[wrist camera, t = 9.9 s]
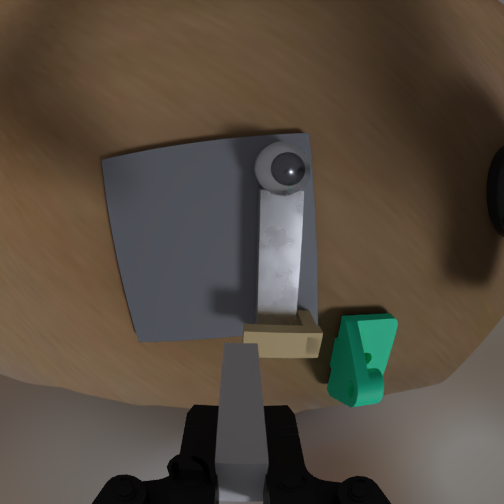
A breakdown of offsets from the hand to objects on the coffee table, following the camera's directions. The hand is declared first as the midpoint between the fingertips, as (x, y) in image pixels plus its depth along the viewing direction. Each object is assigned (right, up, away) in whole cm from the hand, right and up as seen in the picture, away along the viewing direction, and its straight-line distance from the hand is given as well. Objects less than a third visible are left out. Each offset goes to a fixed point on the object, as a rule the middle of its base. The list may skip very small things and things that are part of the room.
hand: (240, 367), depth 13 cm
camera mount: (+15, -8, +25) cm, 31 cm away
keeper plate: (-4, +6, +20) cm, 21 cm away
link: (+3, +6, +18) cm, 20 cm away
